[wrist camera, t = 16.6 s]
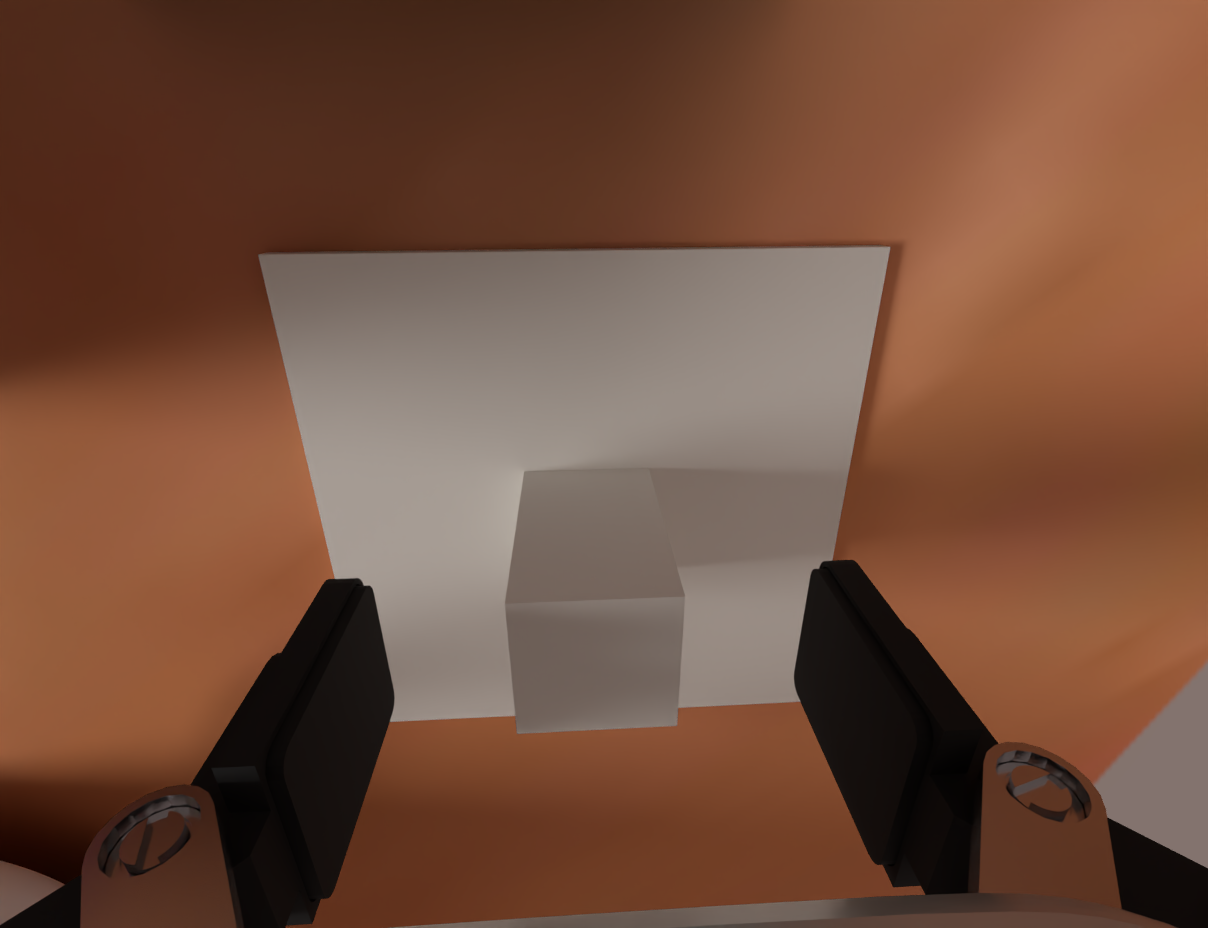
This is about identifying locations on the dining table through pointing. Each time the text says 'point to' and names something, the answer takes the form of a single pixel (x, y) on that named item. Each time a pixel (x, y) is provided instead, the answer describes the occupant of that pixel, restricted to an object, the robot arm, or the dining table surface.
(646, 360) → the lid
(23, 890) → the coffee press
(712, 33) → the dining table surface
